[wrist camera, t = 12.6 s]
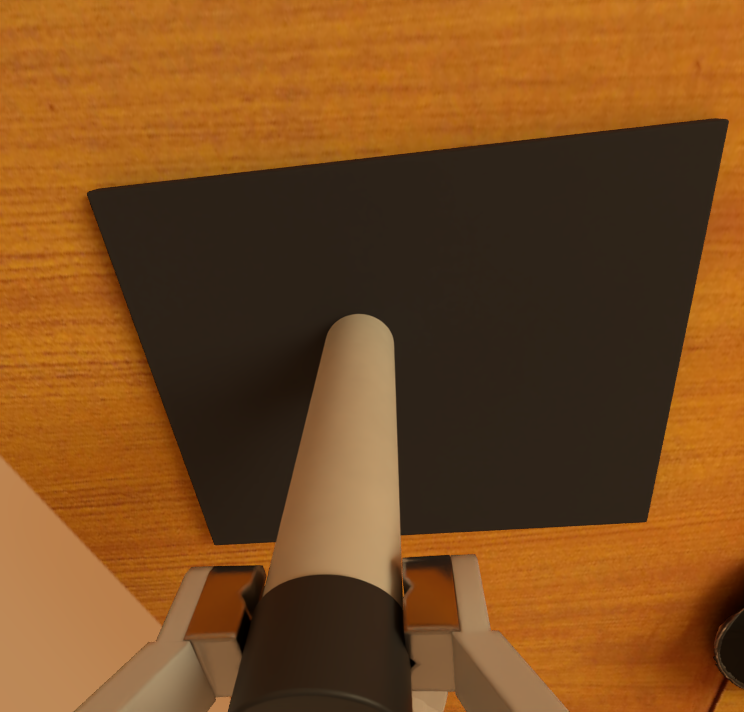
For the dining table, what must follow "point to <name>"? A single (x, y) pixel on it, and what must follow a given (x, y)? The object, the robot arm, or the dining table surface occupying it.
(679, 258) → the mat
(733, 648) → the soup bowl
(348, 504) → the marker
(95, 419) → the dining table surface
